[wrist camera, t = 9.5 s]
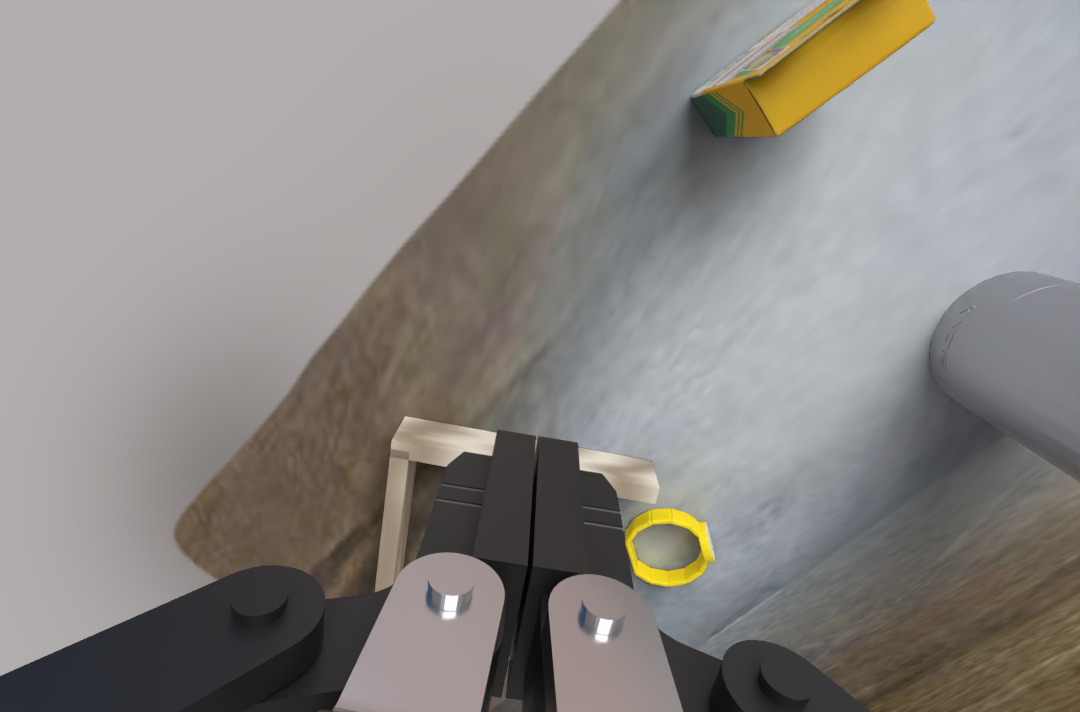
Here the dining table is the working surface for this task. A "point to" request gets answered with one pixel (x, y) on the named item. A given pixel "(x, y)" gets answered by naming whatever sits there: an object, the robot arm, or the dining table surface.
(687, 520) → the watch
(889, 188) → the dining table surface
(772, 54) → the crayon box
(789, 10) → the dining table surface
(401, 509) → the open wooden frame
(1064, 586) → the dining table surface
